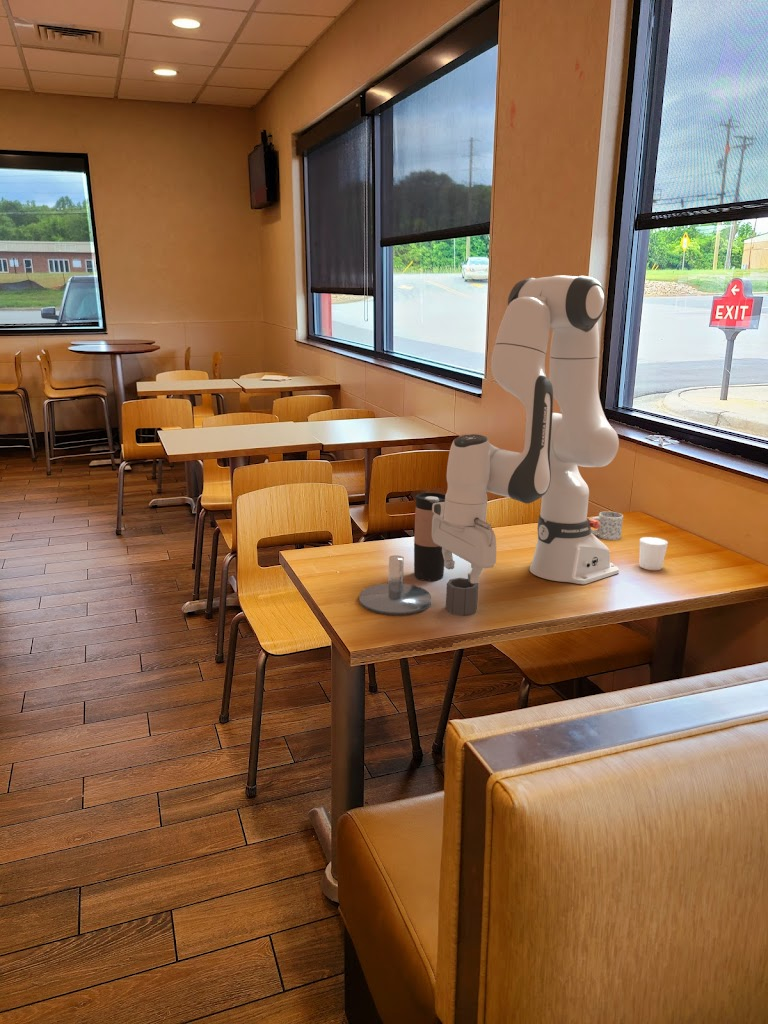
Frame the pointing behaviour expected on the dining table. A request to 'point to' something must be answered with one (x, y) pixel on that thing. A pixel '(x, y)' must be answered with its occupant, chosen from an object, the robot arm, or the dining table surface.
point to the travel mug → (427, 540)
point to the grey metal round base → (395, 594)
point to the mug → (608, 525)
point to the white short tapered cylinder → (652, 553)
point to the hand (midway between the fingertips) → (460, 575)
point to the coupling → (461, 596)
